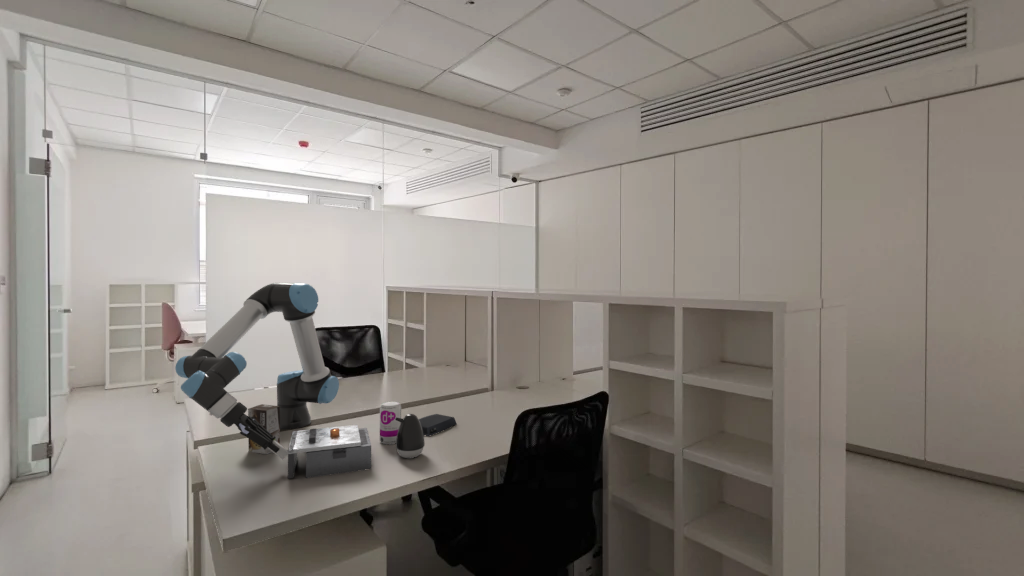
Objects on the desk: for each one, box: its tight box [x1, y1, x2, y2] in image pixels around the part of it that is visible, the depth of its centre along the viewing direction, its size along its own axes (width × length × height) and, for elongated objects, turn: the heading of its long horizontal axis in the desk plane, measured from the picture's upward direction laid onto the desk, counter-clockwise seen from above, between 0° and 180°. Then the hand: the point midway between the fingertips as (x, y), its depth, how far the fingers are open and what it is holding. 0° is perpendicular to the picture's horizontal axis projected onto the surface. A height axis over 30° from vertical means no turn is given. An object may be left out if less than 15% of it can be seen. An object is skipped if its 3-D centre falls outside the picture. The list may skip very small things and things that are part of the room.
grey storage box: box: [305, 427, 372, 478], centre depth 161 cm, size 20×24×8 cm
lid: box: [287, 424, 361, 479], centre depth 160 cm, size 22×20×11 cm
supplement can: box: [379, 400, 402, 445], centre depth 183 cm, size 8×8×15 cm
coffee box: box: [247, 404, 281, 455], centre depth 172 cm, size 9×6×16 cm
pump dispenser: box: [395, 413, 426, 459], centre depth 168 cm, size 10×10×15 cm
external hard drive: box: [418, 413, 457, 437], centre depth 200 cm, size 13×19×4 cm
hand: (286, 455), depth 155 cm, fingers closed
